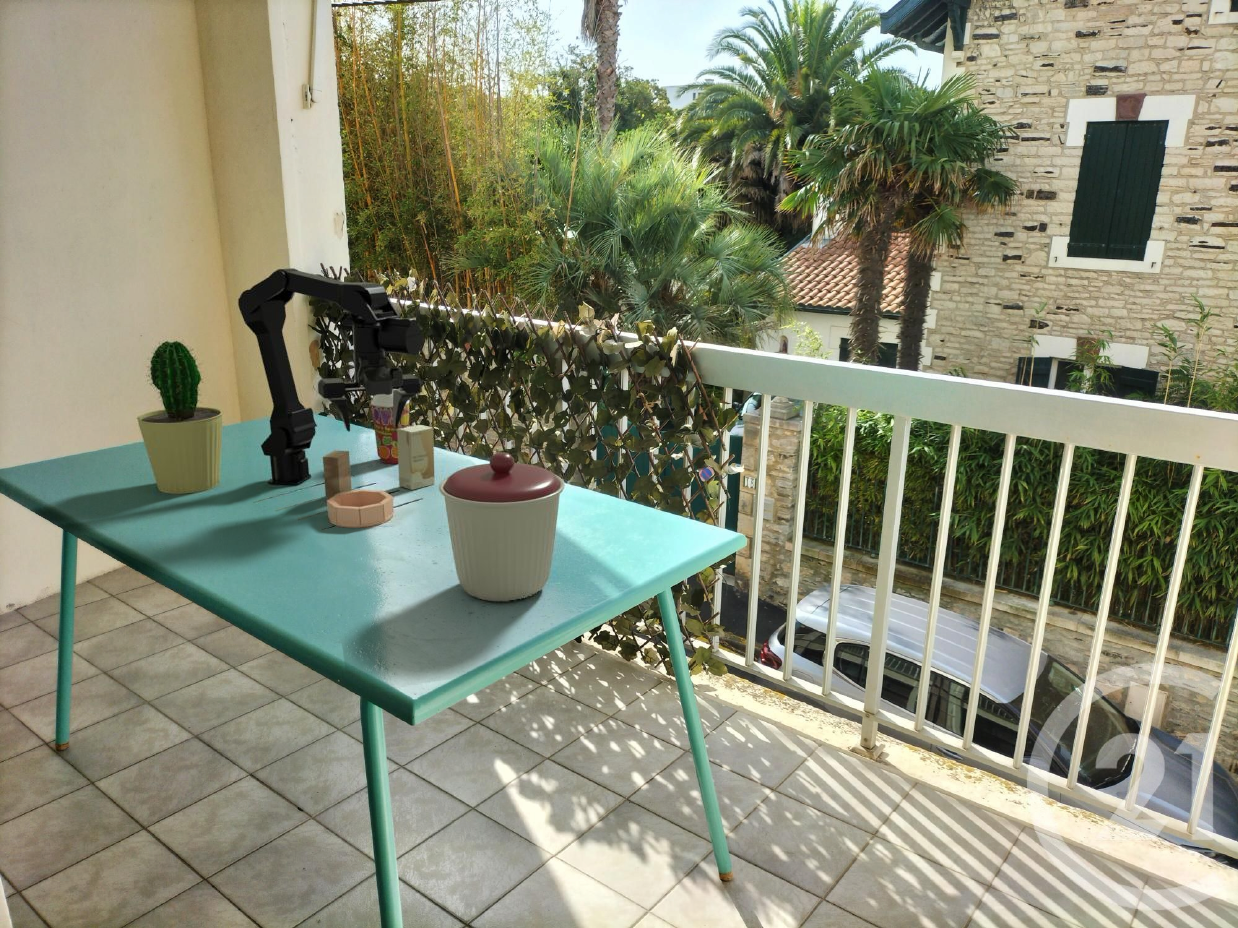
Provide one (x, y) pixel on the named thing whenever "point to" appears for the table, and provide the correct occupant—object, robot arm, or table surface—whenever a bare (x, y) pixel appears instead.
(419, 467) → the skincare box
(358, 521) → the peach octagonal dish
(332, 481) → the tall tan cardboard carton
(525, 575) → the canister
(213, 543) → the table surface
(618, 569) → the table surface
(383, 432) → the smoothie
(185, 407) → the potted cactus
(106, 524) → the table surface
